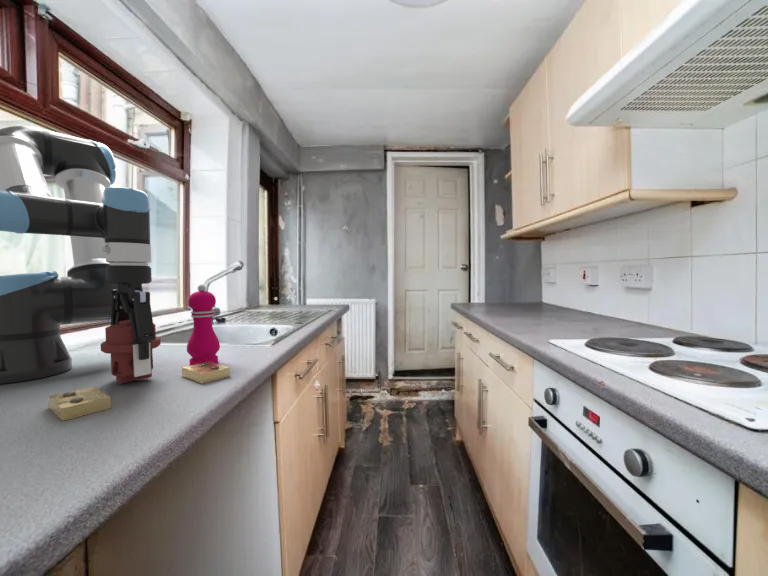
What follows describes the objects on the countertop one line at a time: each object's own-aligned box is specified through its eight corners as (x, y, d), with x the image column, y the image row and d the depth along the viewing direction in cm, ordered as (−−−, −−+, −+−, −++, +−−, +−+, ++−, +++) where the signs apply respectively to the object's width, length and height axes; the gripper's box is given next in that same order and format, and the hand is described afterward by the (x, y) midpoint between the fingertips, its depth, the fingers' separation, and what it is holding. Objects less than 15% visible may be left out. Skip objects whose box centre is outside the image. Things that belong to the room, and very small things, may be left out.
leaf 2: (182, 376, 73) (181, 366, 73) (209, 369, 78) (209, 360, 78) (202, 383, 68) (201, 372, 68) (230, 376, 73) (229, 366, 73)
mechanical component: (172, 373, 74) (130, 388, 64) (135, 370, 76) (88, 384, 66) (171, 318, 73) (127, 325, 64) (133, 316, 75) (86, 323, 66)
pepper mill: (215, 359, 88) (213, 284, 87) (224, 364, 82) (221, 284, 82) (184, 364, 83) (181, 284, 82) (191, 370, 78) (188, 285, 77)
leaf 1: (48, 407, 56) (48, 394, 56) (94, 397, 61) (93, 384, 61) (62, 421, 51) (61, 406, 51) (110, 408, 56) (110, 394, 56)
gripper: (89, 264, 72) (93, 365, 74) (126, 263, 59) (131, 386, 60) (130, 265, 78) (133, 358, 80) (173, 264, 65) (176, 375, 67)
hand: (132, 370), depth 70 cm, fingers closed on mechanical component, 10 cm apart
